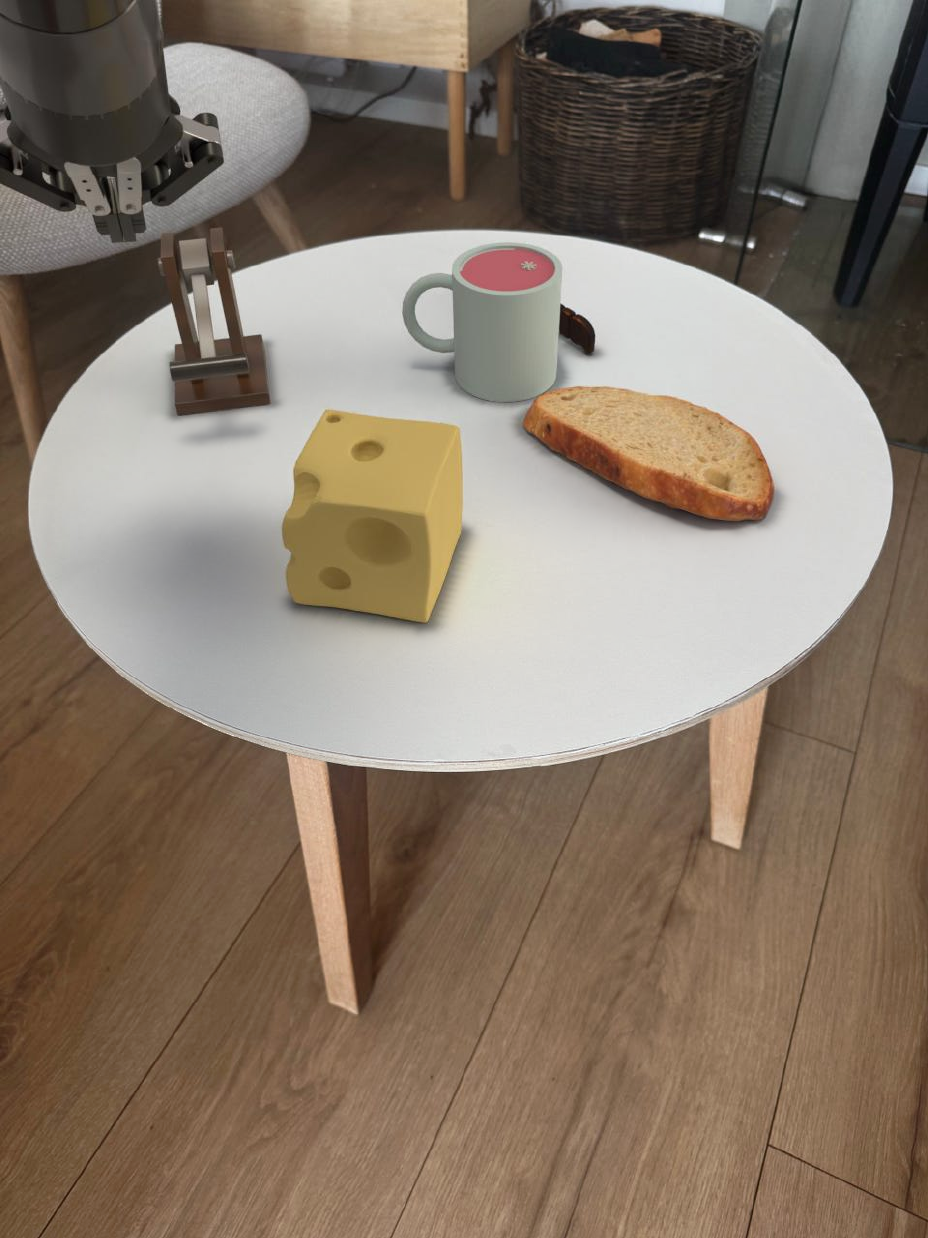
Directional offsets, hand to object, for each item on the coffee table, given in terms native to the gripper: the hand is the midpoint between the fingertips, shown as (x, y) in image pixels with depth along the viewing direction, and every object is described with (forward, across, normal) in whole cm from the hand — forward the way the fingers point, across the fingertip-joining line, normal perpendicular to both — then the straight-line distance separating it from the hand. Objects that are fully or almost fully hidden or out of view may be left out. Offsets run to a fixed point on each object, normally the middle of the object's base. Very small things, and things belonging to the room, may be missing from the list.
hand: (121, 227), depth 60 cm
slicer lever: (+20, -5, -2) cm, 21 cm away
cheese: (+10, -14, +22) cm, 28 cm away
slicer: (+29, -5, 0) cm, 29 cm away
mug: (+24, -28, +3) cm, 37 cm away
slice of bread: (+13, -37, +16) cm, 42 cm away
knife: (+28, -36, -3) cm, 45 cm away
